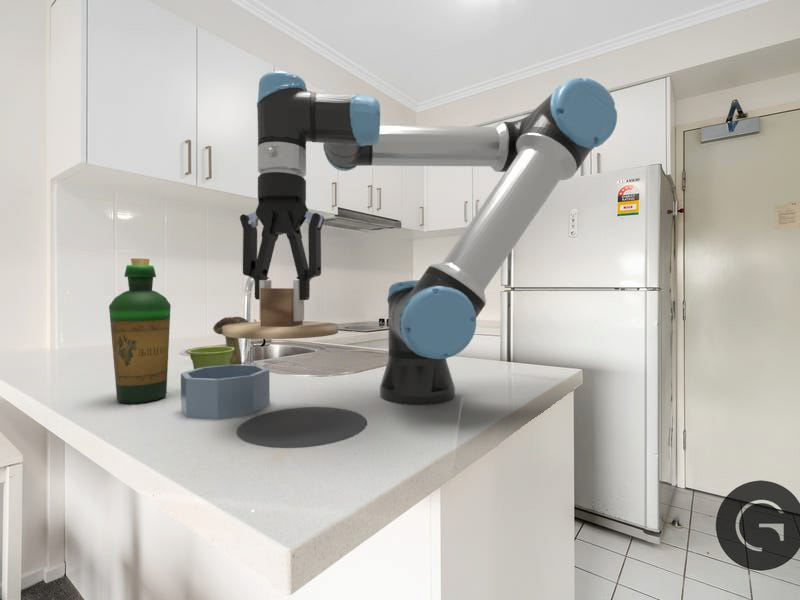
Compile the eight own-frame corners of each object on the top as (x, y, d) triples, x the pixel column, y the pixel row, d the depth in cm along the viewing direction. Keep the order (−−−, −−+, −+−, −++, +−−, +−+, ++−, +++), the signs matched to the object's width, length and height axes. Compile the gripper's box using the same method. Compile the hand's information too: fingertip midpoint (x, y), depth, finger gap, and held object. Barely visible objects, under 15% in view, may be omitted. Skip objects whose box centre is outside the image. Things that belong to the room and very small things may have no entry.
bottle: (115, 409, 78) (112, 256, 78) (106, 398, 86) (104, 259, 86) (178, 399, 85) (176, 258, 85) (165, 390, 94) (163, 261, 93)
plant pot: (218, 394, 90) (217, 353, 90) (178, 392, 92) (178, 351, 91) (243, 384, 99) (242, 347, 99) (206, 382, 101) (206, 346, 101)
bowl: (279, 401, 84) (279, 365, 84) (240, 423, 70) (240, 381, 70) (214, 398, 86) (214, 363, 86) (164, 419, 73) (164, 378, 72)
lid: (350, 328, 77) (350, 288, 77) (316, 340, 59) (316, 288, 59) (256, 326, 80) (256, 288, 80) (197, 337, 62) (197, 287, 62)
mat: (379, 412, 76) (379, 410, 76) (345, 456, 56) (345, 452, 56) (274, 407, 80) (274, 404, 80) (207, 446, 60) (207, 442, 60)
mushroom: (248, 377, 107) (247, 317, 106) (210, 379, 104) (209, 318, 104) (250, 370, 116) (249, 315, 115) (215, 372, 113) (214, 315, 113)
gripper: (217, 171, 67) (217, 320, 67) (328, 167, 64) (328, 323, 65) (242, 183, 74) (242, 317, 75) (342, 180, 72) (342, 319, 72)
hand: (282, 320), depth 70 cm, fingers closed on lid, 5 cm apart
